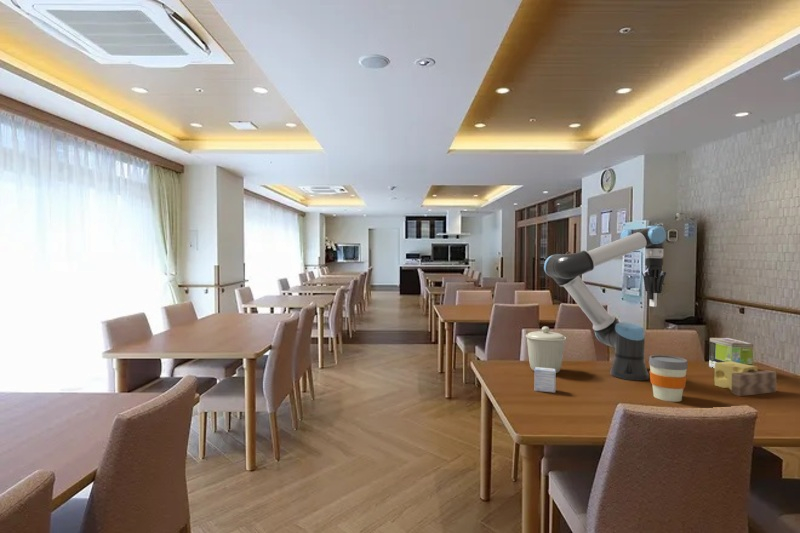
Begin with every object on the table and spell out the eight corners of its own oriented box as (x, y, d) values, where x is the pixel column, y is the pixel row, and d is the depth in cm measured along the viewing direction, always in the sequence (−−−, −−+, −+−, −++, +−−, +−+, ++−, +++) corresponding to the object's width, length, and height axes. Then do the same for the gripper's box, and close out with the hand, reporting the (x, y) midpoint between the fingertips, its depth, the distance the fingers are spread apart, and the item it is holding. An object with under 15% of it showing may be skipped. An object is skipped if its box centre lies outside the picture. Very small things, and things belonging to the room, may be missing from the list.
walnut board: (739, 396, 161) (739, 375, 161) (731, 393, 164) (731, 373, 164) (776, 391, 167) (776, 372, 167) (767, 389, 170) (767, 370, 170)
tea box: (753, 375, 192) (754, 343, 192) (731, 375, 192) (732, 343, 192) (728, 366, 207) (729, 337, 207) (708, 366, 207) (708, 337, 207)
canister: (547, 378, 184) (547, 331, 183) (516, 369, 200) (517, 325, 199) (574, 373, 193) (575, 327, 192) (543, 364, 208) (544, 322, 208)
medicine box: (555, 389, 168) (555, 368, 168) (555, 393, 164) (555, 371, 163) (534, 387, 170) (534, 366, 170) (534, 391, 166) (534, 369, 166)
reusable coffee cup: (648, 390, 168) (648, 353, 167) (685, 396, 161) (686, 357, 161) (648, 399, 157) (648, 359, 157) (688, 405, 150) (689, 364, 150)
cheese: (739, 393, 166) (739, 368, 165) (712, 385, 176) (712, 361, 176) (758, 391, 168) (758, 366, 168) (730, 383, 179) (731, 360, 179)
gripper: (650, 257, 196) (649, 307, 197) (671, 257, 200) (670, 306, 201) (637, 257, 204) (635, 305, 204) (657, 257, 207) (656, 305, 208)
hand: (653, 306), depth 202 cm, fingers closed
